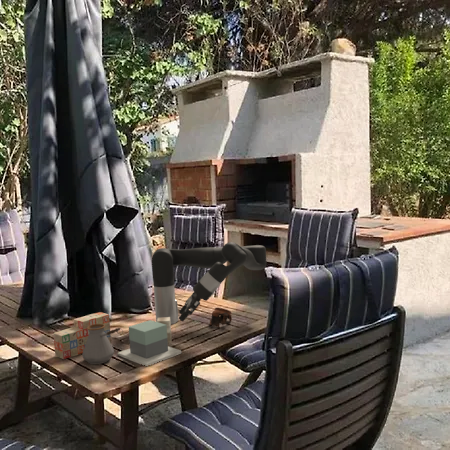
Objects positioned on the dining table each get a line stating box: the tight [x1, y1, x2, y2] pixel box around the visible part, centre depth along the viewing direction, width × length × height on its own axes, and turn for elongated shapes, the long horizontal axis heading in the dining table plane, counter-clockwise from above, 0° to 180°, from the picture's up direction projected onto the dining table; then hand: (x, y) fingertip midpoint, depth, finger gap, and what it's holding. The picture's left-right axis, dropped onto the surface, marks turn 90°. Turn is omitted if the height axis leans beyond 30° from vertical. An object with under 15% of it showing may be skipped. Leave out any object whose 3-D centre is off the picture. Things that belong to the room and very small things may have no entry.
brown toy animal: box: [209, 307, 233, 328], centre depth 224 cm, size 12×10×8 cm
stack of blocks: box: [53, 311, 112, 360], centre depth 201 cm, size 21×6×12 cm, turn 138°
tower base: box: [117, 319, 182, 367], centre depth 192 cm, size 16×18×11 cm
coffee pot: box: [81, 324, 124, 365], centre depth 185 cm, size 21×12×15 cm, turn 46°
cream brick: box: [157, 317, 172, 344], centre depth 206 cm, size 5×5×9 cm
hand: (180, 316), depth 205 cm, fingers open, 8 cm apart
